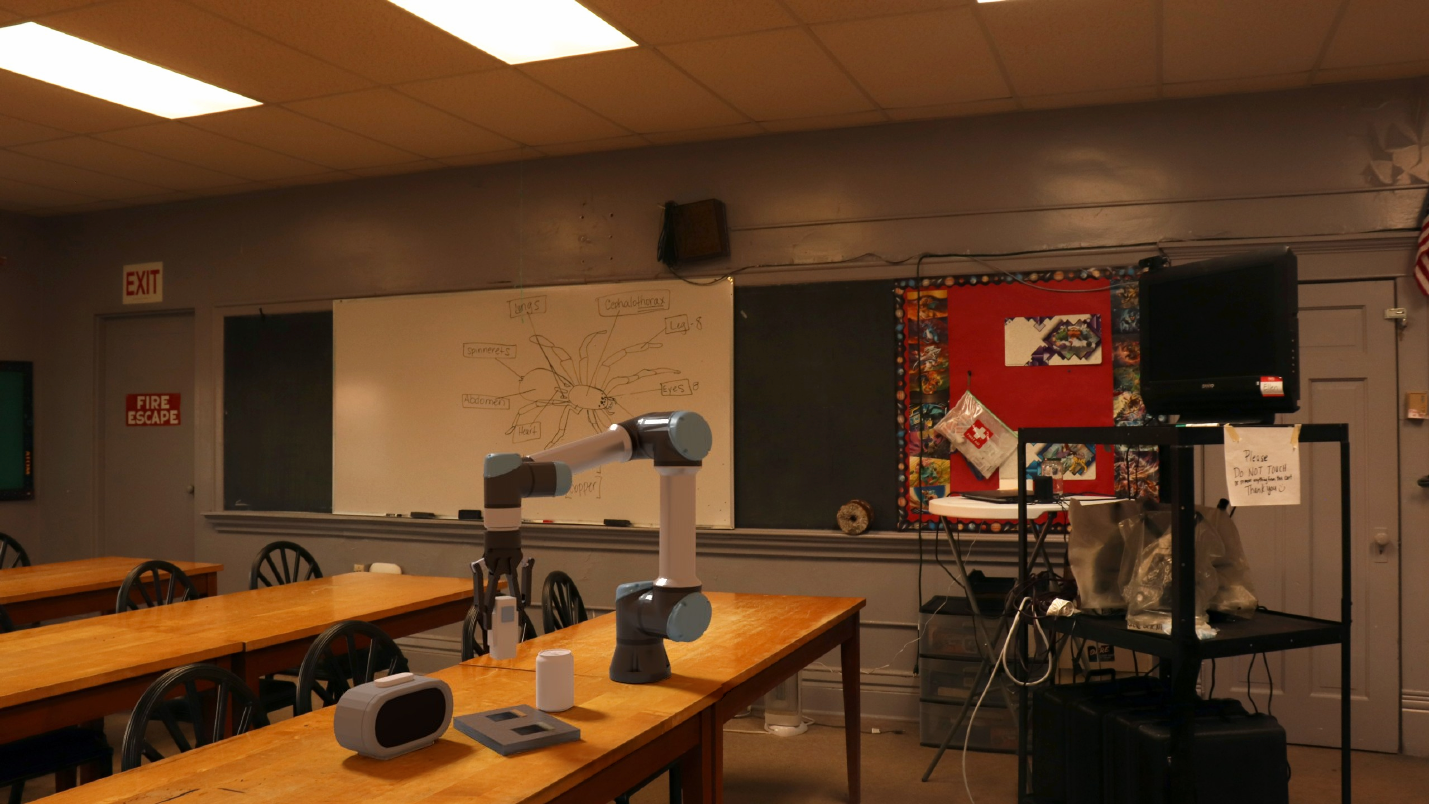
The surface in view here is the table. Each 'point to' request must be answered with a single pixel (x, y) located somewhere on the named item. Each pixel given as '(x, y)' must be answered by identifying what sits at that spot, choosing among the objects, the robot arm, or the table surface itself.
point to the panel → (516, 729)
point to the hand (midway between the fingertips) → (503, 644)
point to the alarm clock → (393, 715)
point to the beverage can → (554, 680)
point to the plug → (505, 628)
